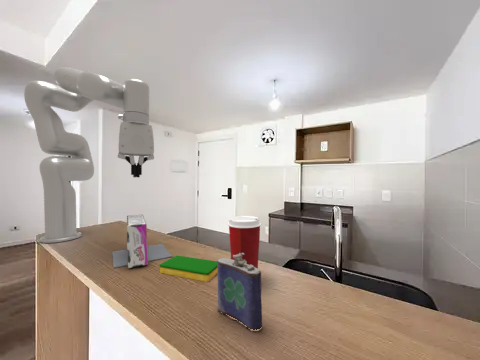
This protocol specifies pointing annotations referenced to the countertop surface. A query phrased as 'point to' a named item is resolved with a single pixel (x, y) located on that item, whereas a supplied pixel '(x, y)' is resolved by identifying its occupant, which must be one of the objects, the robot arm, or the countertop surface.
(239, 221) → the paper cup
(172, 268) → the dish sponge
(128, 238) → the candy bar box
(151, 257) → the mat
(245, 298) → the flask
